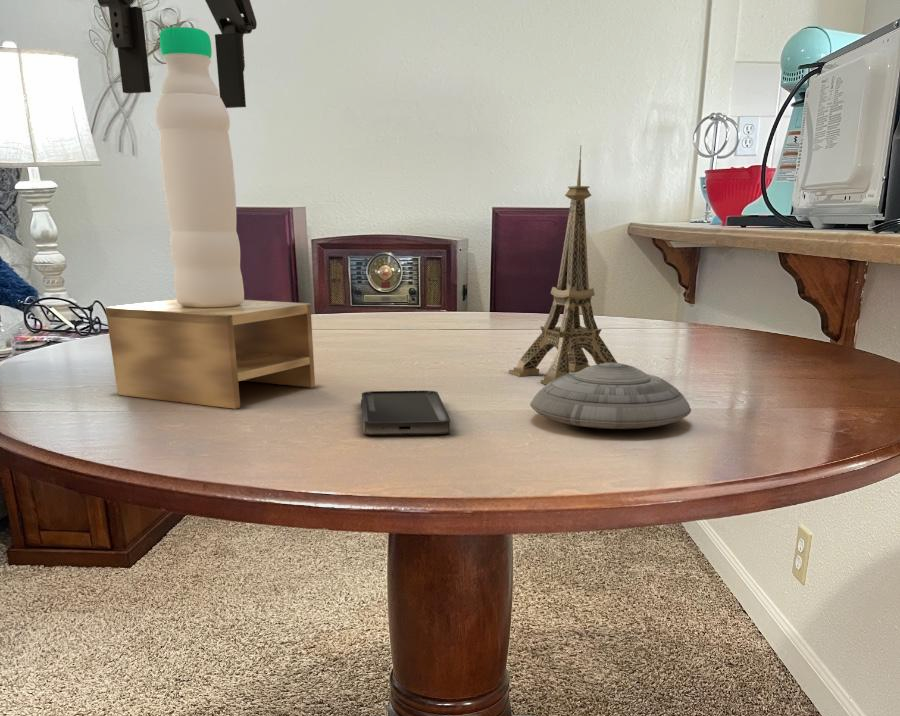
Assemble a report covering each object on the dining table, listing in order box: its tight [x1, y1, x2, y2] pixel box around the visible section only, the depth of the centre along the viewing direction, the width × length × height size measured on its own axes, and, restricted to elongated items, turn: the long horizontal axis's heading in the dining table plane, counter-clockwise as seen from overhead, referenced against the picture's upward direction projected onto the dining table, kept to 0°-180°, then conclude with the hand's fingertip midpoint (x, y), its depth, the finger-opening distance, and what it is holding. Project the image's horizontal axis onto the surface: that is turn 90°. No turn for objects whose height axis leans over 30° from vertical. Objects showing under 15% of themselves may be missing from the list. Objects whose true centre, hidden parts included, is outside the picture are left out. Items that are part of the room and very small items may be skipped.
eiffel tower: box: [508, 144, 618, 385], centre depth 102 cm, size 11×11×25 cm
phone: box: [360, 389, 451, 436], centre depth 85 cm, size 8×1×15 cm
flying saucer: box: [529, 362, 692, 430], centre depth 83 cm, size 15×15×6 cm
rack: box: [105, 299, 316, 410], centre depth 96 cm, size 16×14×9 cm
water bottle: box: [155, 26, 245, 308], centre depth 89 cm, size 7×7×25 cm
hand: (188, 100), depth 87 cm, fingers open, 13 cm apart
